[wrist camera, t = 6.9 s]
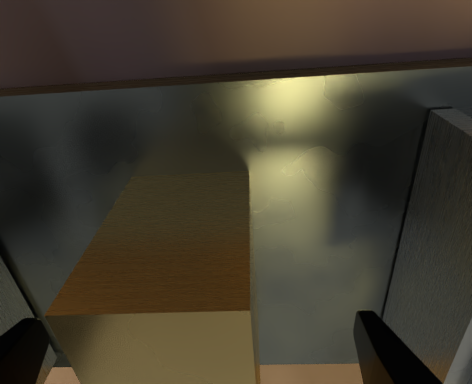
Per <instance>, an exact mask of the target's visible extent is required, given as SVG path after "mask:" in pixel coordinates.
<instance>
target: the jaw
mask: <svg viewBox="0 0 472 384" xmlns="http://www.w3.org/2000/svg"><path fill="white" fill-rule="evenodd" d="M33 317H34V315H33V313H32V312H31V310H30V308H29V306H28V305H27V303H26V301H25V299H24V297H23V296H22V294H21V292H20V290H19V288H18V287H17V285H16V283H15V281H14V280H13V278H12V276H11V274H10V272H9V271H8V269H7V267H6V265H5V263H4V262H3V260H2V258H1V256H0V336H1V335H2V334H4V333H5V332H6V331H7V330H9V329H10V328H11V327H13V326H14V325H15V324H17V323H18V322H19V321H20V320H22V319H24V318H33ZM56 359H57V356H56V355H55V353H54V351H53V349H52V347H51V346H50V344H49V346H48V349H47V352H46V355H45V358H44V361H43V364H42V367H41V370H40V373H39V376H38V379H37V382H36V384H44V382H45V380H46V378H47V376H48V374H49V373H50V371H51V369H52V367H53V365H54V363H55V361H56Z"/></svg>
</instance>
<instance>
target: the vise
mask: <svg viewBox="0 0 472 384" xmlns="http://www.w3.org/2000/svg"><path fill="white" fill-rule="evenodd" d="M234 171H249V175H250V192H251V209H252V226H253V243H254V259H255V276H256V293H257V310H258V327H259V358H260V365H269V364H350V363H359V360H358V355H357V350H356V346H355V341H354V335H353V328H354V322H355V316H356V312H357V311H358V310H372V311H374V312H375V313H376V314H377V315H378V316H379V317H380V318H381V319H382V320H383V321H384V322H385V323H386V324H387V325H388V326H389V327H390V329H391V330H392V331H393V332H394V333H395V334H396V335H397V336H398V337H399V338H400V339H401V340H402V341H403V342H404V343H405V344H406V345H407V346H408V347H409V348H410V349H411V351H412V352H413V353H414V354H415V355H416V356H417V357H418V358H419V359H420V360H421V361H422V362H423V363H424V364H425V365H426V366H427V367H428V368H429V369H430V370H431V371H432V372H433V374H434V375H435V376H436V377H437V378H438V379H439V380H440V381H441V382H442V383H443V384H472V58H460V59H445V60H430V61H414V62H399V63H384V64H369V65H354V66H339V67H324V68H309V69H294V70H279V71H263V72H248V73H233V74H218V75H203V76H188V77H173V78H158V79H143V80H128V81H113V82H97V83H82V84H67V85H52V86H37V87H22V88H7V89H0V256H1V258H2V260H3V262H4V263H5V265H6V267H7V269H8V271H9V272H10V274H11V276H12V278H13V280H14V281H15V283H16V285H17V287H18V288H19V290H20V292H21V294H22V296H23V297H24V299H25V301H26V303H27V305H28V306H29V308H30V310H31V312H32V313H33V315H34V317H37V318H40V319H41V320H42V322H43V324H44V326H45V328H46V329H47V331H48V333H49V335H50V343H49V344H50V346H51V347H52V349H53V351H54V353H55V355H56V356H57V359H56V361H55V363H54V365H53V367H72V366H71V365H70V363H69V361H68V359H67V357H66V355H65V354H64V352H63V350H62V348H61V346H60V344H59V342H58V341H57V339H56V337H55V335H54V333H53V331H52V330H51V328H50V326H49V324H48V322H47V320H46V318H45V317H44V315H45V313H46V312H47V310H48V309H49V307H50V306H51V304H52V302H53V301H54V299H55V298H56V296H57V294H58V293H59V291H60V290H61V288H62V286H63V285H64V283H65V282H66V280H67V279H68V277H69V275H70V274H71V272H72V271H73V269H74V267H75V266H76V264H77V263H78V261H79V260H80V258H81V256H82V255H83V253H84V252H85V250H86V248H87V247H88V245H89V244H90V242H91V241H92V239H93V237H94V236H95V234H96V233H97V231H98V229H99V228H100V226H101V225H102V223H103V221H104V220H105V218H106V217H107V215H108V214H109V212H110V210H111V209H112V207H113V206H114V204H115V202H116V201H117V199H118V198H119V196H120V195H121V193H122V191H123V190H124V188H125V187H126V185H127V183H128V182H129V180H130V179H131V177H136V176H156V175H175V174H195V173H214V172H234Z"/></svg>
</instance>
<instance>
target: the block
mask: <svg viewBox="0 0 472 384" xmlns="http://www.w3.org/2000/svg"><path fill="white" fill-rule="evenodd" d="M44 317H45V318H46V320H47V322H48V324H49V326H50V328H51V330H52V331H53V333H54V335H55V337H56V339H57V341H58V342H59V344H60V346H61V348H62V350H63V352H64V354H65V355H66V357H67V359H68V361H69V363H70V365H71V366H72V368H73V370H74V372H75V374H76V376H77V377H78V379H79V381H80V383H81V384H260V358H259V327H258V310H257V293H256V276H255V259H254V243H253V226H252V209H251V192H250V175H249V171H234V172H214V173H195V174H175V175H156V176H136V177H131V179H130V180H129V182H128V183H127V185H126V187H125V188H124V190H123V191H122V193H121V195H120V196H119V198H118V199H117V201H116V202H115V204H114V206H113V207H112V209H111V210H110V212H109V214H108V215H107V217H106V218H105V220H104V221H103V223H102V225H101V226H100V228H99V229H98V231H97V233H96V234H95V236H94V237H93V239H92V241H91V242H90V244H89V245H88V247H87V248H86V250H85V252H84V253H83V255H82V256H81V258H80V260H79V261H78V263H77V264H76V266H75V267H74V269H73V271H72V272H71V274H70V275H69V277H68V279H67V280H66V282H65V283H64V285H63V286H62V288H61V290H60V291H59V293H58V294H57V296H56V298H55V299H54V301H53V302H52V304H51V306H50V307H49V309H48V310H47V312H46V313H45V315H44Z"/></svg>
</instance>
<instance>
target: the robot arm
mask: <svg viewBox="0 0 472 384" xmlns="http://www.w3.org/2000/svg"><path fill="white" fill-rule="evenodd" d="M353 335H354V341H355V346H356V350H357V355H358V360H359V365H360V369H361V374H362V379H363V384H443V383H442V382H441V381H440V380H439V379H438V378H437V377H436V376H435V375H434V374H433V372H432V371H431V370H430V369H429V368H428V367H427V366H426V365H425V364H424V363H423V362H422V361H421V360H420V359H419V358H418V357H417V356H416V355H415V354H414V353H413V352H412V351H411V349H410V348H409V347H408V346H407V345H406V344H405V343H404V342H403V341H402V340H401V339H400V338H399V337H398V336H397V335H396V334H395V333H394V332H393V331H392V330H391V329H390V327H389V326H388V325H387V324H386V323H385V322H384V321H383V320H382V319H381V318H380V317H379V316H378V315H377V314H376V313H375V312H374V311H372V310H358V311H357V312H356V316H355V322H354V328H353ZM49 343H50V335H49V333H48V331H47V329H46V328H45V326H44V324H43V322H42V320H41V319H40V318H37V317H33V318H24V319H22V320H20V321H19V322H18V323H17V324H15V325H14V326H13V327H11V328H10V329H9V330H7V331H6V332H5V333H4V334H2V335H1V336H0V384H36V382H37V379H38V376H39V373H40V370H41V367H42V364H43V361H44V358H45V355H46V352H47V349H48V346H49Z"/></svg>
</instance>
